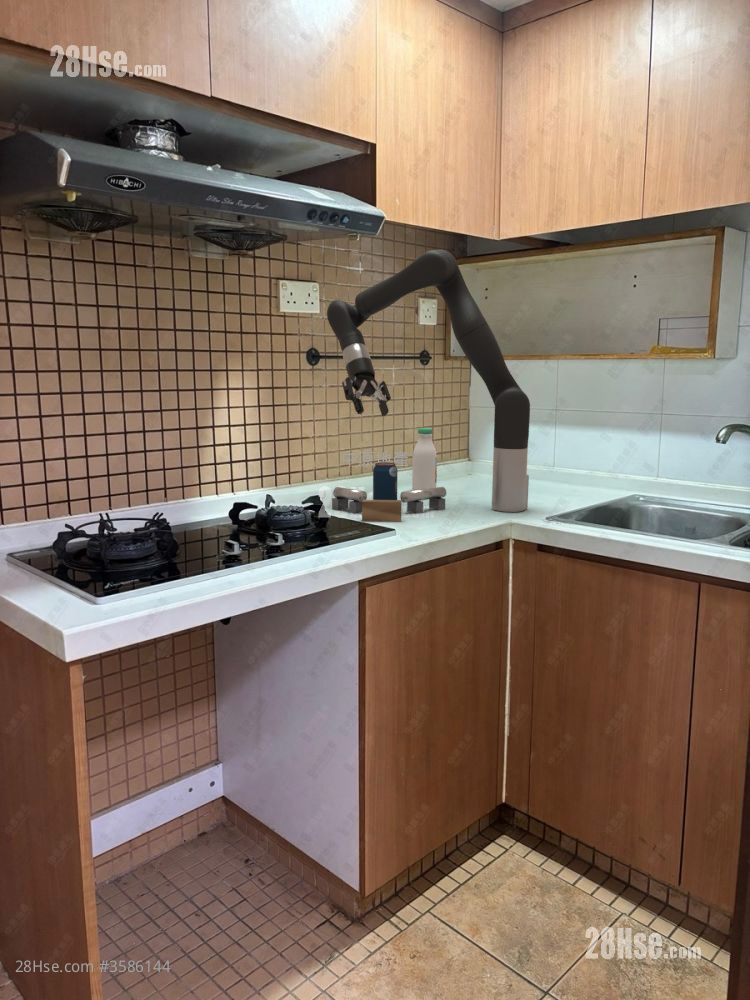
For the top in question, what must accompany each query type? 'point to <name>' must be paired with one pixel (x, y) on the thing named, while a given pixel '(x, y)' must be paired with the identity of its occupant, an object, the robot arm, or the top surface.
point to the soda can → (385, 481)
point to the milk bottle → (424, 461)
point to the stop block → (381, 510)
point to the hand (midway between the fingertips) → (373, 413)
